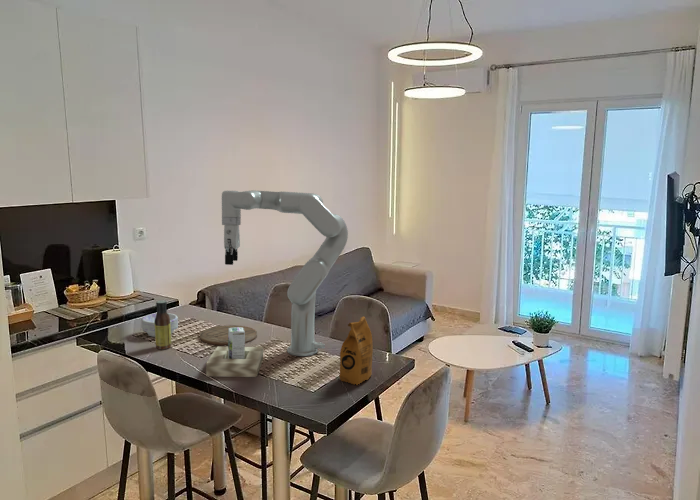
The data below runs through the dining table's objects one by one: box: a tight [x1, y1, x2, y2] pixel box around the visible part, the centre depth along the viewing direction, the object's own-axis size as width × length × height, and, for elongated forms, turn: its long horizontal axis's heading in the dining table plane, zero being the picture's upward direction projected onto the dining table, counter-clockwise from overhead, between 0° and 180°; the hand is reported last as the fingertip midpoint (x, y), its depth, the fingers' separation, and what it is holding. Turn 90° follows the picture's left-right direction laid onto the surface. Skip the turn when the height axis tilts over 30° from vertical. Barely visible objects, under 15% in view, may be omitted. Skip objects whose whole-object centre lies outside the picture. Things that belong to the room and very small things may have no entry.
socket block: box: [205, 346, 264, 378], centre depth 197 cm, size 18×18×5 cm
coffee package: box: [339, 316, 374, 386], centre depth 188 cm, size 10×12×22 cm
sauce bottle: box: [154, 300, 172, 350], centre depth 215 cm, size 6×6×20 cm
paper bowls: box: [141, 312, 179, 338], centre depth 234 cm, size 15×15×8 cm
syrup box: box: [227, 327, 246, 359], centre depth 196 cm, size 6×6×14 cm
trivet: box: [199, 325, 258, 347], centre depth 233 cm, size 25×25×2 cm
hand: (231, 262), depth 214 cm, fingers open, 9 cm apart
